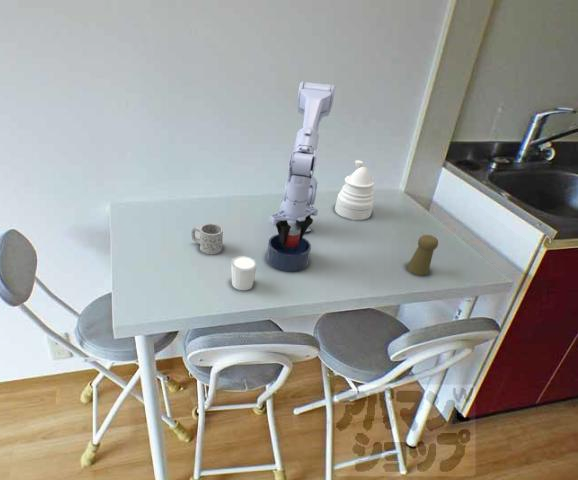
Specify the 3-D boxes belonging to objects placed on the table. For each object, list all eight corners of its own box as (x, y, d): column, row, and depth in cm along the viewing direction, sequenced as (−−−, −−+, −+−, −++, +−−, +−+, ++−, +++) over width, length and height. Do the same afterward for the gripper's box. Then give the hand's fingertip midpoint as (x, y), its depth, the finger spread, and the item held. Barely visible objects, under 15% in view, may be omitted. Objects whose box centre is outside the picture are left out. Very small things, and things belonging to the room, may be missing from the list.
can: (277, 244, 123) (280, 224, 119) (291, 240, 125) (294, 221, 121) (287, 252, 119) (290, 232, 115) (301, 248, 121) (304, 229, 117)
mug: (225, 246, 129) (226, 227, 125) (215, 256, 124) (216, 237, 120) (197, 237, 132) (197, 218, 128) (186, 247, 127) (186, 228, 123)
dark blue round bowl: (259, 254, 127) (260, 238, 123) (292, 245, 131) (295, 230, 128) (281, 275, 118) (283, 259, 115) (316, 265, 123) (319, 249, 120)
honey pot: (328, 212, 151) (339, 163, 140) (343, 200, 160) (354, 153, 149) (362, 223, 145) (376, 173, 134) (375, 210, 154) (389, 162, 143)
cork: (429, 277, 122) (443, 244, 115) (408, 273, 122) (420, 241, 116) (426, 265, 126) (439, 233, 120) (405, 262, 127) (417, 230, 120)
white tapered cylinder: (228, 276, 117) (230, 255, 112) (253, 276, 117) (255, 255, 113) (230, 291, 111) (232, 270, 107) (256, 291, 112) (258, 270, 108)
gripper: (282, 208, 107) (276, 253, 115) (327, 199, 113) (318, 242, 121) (267, 197, 112) (263, 241, 120) (311, 188, 118) (304, 231, 126)
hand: (290, 241), depth 121 cm, fingers closed on can, 5 cm apart
